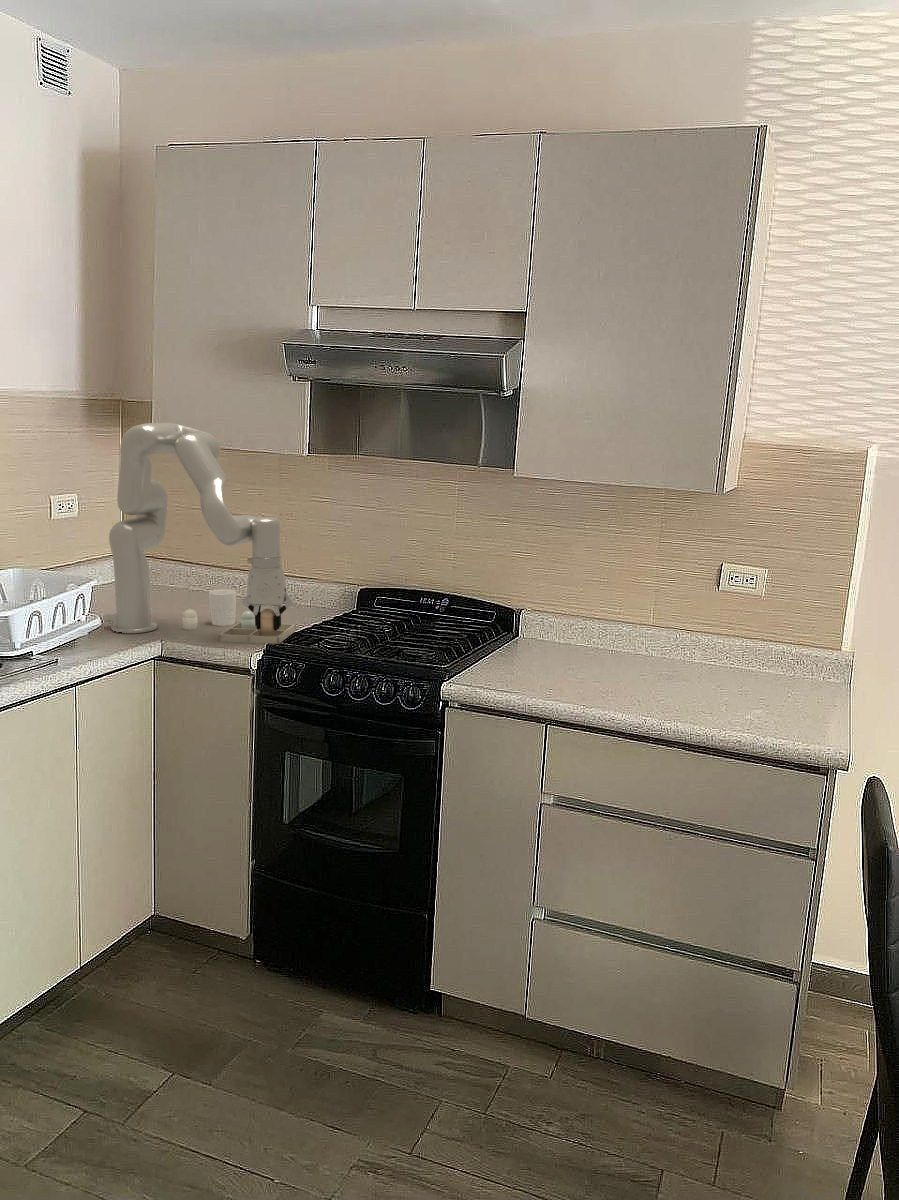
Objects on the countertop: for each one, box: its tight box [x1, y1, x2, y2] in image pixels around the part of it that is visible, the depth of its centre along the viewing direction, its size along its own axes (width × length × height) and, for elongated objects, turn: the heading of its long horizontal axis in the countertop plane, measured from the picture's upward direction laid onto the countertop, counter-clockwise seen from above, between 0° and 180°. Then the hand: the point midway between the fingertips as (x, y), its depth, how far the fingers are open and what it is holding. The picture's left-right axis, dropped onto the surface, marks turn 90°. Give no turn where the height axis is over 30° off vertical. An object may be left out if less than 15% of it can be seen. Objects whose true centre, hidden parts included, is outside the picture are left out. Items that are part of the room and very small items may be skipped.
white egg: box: [182, 608, 199, 631], centre depth 302 cm, size 4×4×6 cm
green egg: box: [240, 610, 256, 629], centre depth 298 cm, size 4×4×6 cm
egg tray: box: [218, 621, 297, 645], centre depth 294 cm, size 17×17×2 cm
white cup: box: [208, 589, 237, 627], centre depth 309 cm, size 8×8×10 cm
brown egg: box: [260, 608, 276, 632], centre depth 288 cm, size 4×4×6 cm
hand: (268, 628), depth 289 cm, fingers closed on brown egg, 4 cm apart
